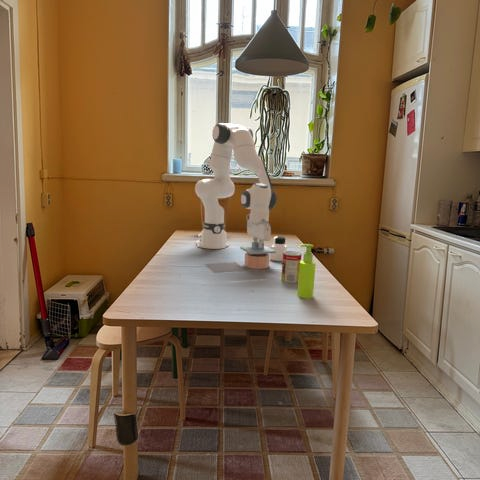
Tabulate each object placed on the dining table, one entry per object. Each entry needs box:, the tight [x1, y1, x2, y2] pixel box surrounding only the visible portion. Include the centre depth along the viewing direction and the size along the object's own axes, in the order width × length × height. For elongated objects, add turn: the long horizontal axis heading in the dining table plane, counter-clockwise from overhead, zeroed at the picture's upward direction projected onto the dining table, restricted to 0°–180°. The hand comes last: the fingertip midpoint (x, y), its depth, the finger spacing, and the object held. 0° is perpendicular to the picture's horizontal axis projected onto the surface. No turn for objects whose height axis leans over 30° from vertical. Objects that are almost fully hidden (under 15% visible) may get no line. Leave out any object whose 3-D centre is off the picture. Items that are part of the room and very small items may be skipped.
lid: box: [239, 241, 276, 255], centre depth 194 cm, size 13×13×4 cm
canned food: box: [280, 250, 303, 284], centre depth 173 cm, size 8×8×12 cm
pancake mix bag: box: [200, 197, 230, 233], centre depth 272 cm, size 7×19×28 cm, turn 94°
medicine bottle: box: [269, 235, 288, 262], centre depth 211 cm, size 7×7×12 cm
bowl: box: [244, 252, 270, 270], centre depth 195 cm, size 11×11×6 cm
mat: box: [204, 261, 248, 274], centre depth 190 cm, size 16×16×1 cm
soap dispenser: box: [296, 243, 317, 299], centre depth 153 cm, size 6×7×20 cm
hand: (257, 246), depth 194 cm, fingers closed on lid, 3 cm apart
